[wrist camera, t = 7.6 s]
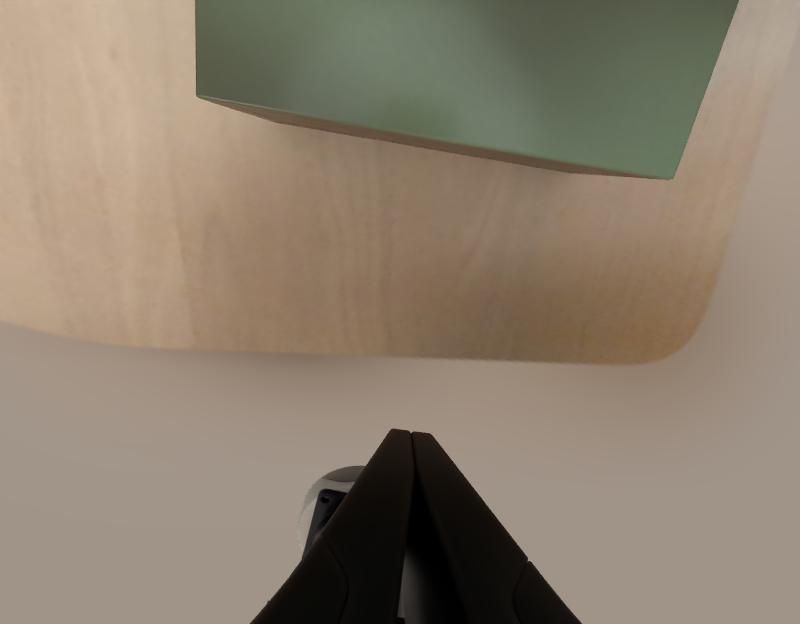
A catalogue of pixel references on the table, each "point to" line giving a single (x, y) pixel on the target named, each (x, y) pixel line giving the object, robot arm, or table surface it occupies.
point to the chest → (426, 143)
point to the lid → (477, 71)
